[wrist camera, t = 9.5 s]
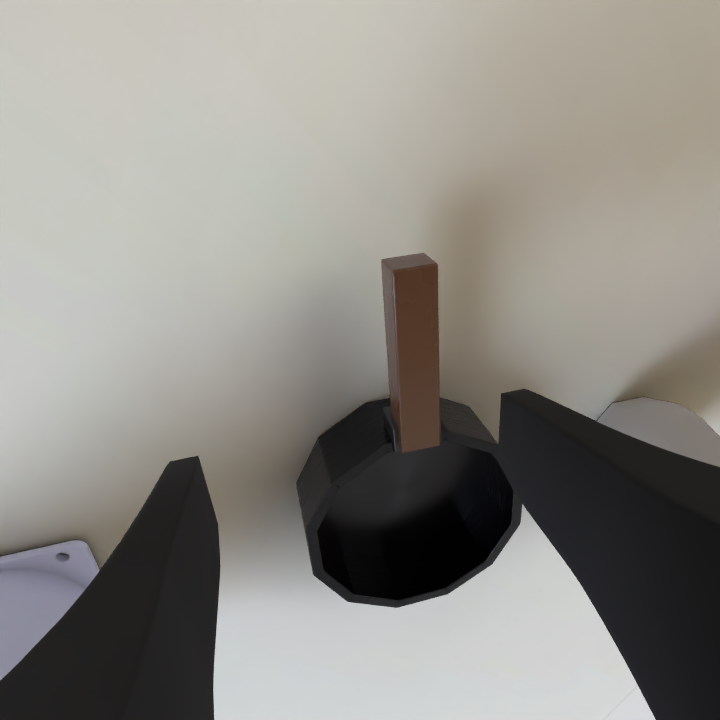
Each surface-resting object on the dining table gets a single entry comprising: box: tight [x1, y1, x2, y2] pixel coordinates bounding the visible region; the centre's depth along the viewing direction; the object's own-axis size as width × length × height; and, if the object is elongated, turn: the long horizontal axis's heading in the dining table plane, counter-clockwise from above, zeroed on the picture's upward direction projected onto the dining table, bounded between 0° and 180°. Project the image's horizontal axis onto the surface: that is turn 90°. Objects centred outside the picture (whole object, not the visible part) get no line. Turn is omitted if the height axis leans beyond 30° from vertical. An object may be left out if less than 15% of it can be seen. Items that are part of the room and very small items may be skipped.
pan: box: [296, 253, 522, 608], centre depth 23 cm, size 17×10×4 cm, turn 5°
